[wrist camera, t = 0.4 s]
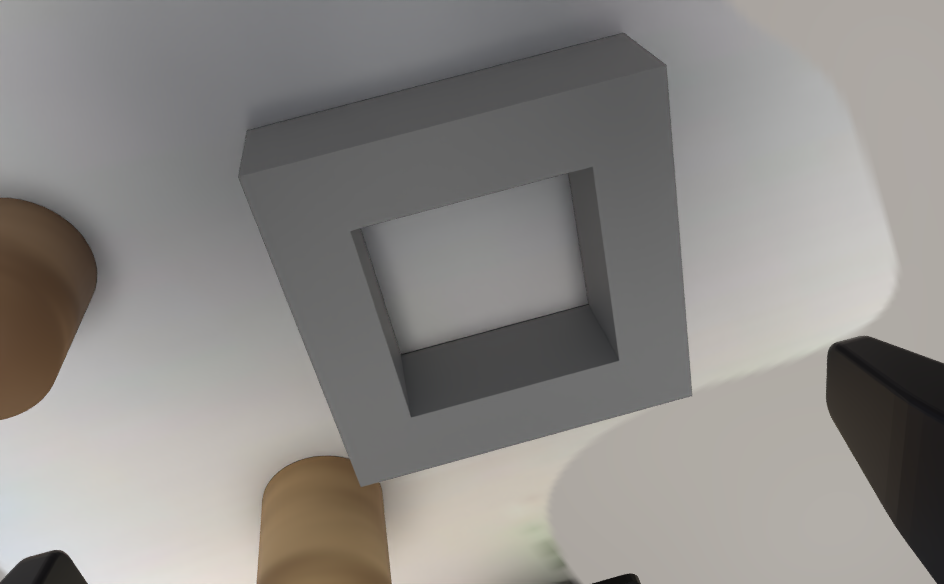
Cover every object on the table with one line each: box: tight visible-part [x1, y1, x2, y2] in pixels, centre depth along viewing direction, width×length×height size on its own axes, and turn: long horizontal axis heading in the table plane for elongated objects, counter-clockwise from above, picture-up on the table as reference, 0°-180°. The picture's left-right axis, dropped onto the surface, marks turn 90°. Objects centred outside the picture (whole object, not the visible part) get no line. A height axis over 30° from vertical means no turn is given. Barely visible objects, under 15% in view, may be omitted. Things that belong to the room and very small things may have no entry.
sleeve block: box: [238, 33, 692, 487], centre depth 23 cm, size 10×10×3 cm
